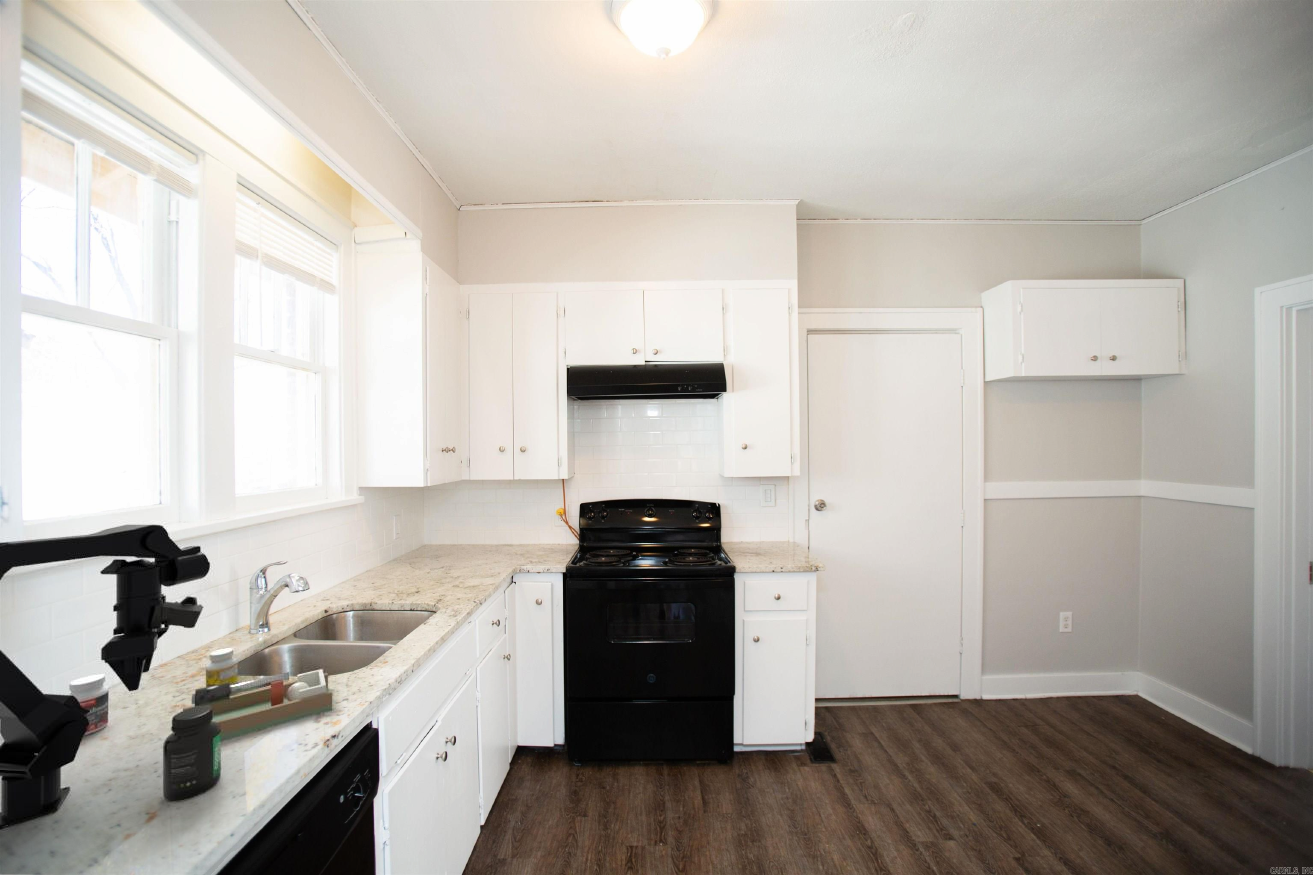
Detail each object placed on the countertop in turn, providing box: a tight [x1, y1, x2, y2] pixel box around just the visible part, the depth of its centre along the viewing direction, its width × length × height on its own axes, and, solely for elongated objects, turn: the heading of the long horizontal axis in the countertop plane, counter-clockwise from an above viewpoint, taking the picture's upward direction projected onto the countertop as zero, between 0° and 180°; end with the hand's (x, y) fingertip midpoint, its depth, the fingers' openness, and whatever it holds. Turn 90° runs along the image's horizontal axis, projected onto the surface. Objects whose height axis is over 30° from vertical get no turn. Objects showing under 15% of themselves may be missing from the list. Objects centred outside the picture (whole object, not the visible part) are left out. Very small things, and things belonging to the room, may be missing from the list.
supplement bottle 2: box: [205, 647, 239, 696], centre depth 113 cm, size 5×5×10 cm
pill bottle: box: [68, 673, 110, 736], centre depth 99 cm, size 6×6×10 cm
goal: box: [296, 668, 326, 699], centre depth 108 cm, size 10×5×4 cm, turn 37°
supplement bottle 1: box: [162, 705, 222, 802], centre depth 81 cm, size 7×7×12 cm
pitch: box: [182, 672, 333, 741], centre depth 102 cm, size 12×24×4 cm, turn 127°
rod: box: [191, 671, 290, 707], centre depth 101 cm, size 4×15×7 cm, turn 127°
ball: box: [286, 682, 309, 702], centre depth 106 cm, size 4×4×4 cm
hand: (139, 680), depth 91 cm, fingers open, 9 cm apart
